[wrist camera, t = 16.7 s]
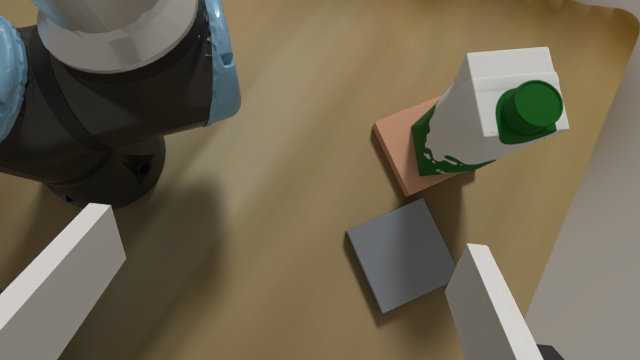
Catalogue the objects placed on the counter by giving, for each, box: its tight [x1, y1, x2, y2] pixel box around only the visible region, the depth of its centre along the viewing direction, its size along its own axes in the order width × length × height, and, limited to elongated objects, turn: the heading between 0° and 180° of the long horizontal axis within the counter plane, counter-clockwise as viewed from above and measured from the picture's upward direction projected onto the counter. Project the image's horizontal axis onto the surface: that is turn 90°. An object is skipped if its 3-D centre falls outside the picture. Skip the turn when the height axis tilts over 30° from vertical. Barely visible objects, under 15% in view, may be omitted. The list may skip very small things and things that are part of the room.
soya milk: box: [411, 47, 569, 176], centre depth 38 cm, size 9×9×20 cm
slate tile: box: [345, 198, 456, 313], centre depth 46 cm, size 11×11×2 cm
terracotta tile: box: [372, 95, 464, 197], centre depth 49 cm, size 11×11×2 cm
